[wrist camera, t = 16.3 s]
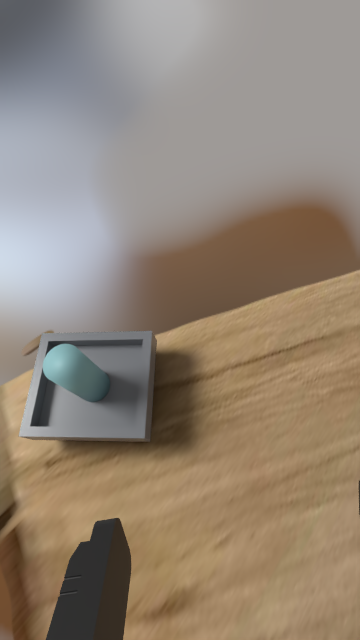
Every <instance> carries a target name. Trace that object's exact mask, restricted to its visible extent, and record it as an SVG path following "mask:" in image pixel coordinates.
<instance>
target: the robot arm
mask: <svg viewBox="0 0 360 640" xmlns="http://www.w3.org/2000/svg"><path fill="white" fill-rule="evenodd" d="M359 513H360V481H359ZM130 575H131V555H130V549H129V546H128V543H127V540H126V537H125V534H124V531H123V527H122V524H121V521H120V519H119V518H114V519H108V520H101V521H97V522H96V523H95V524H94V527H93V531H92V535H91V539H90V541H86V542H81V543H80V544H79V546H78V547H77V549H76V550H75V552H74V553H73V555H72V556H71V558H70V560H69V564H68V567H67V570H66V574H65V577H64V578H65V580H64V581H63V584H62V587H61V591H60V597H58V601H57V604H56V607H55V611H54V614H53V617H52V621H51V624H50V628H49V631H48V634H47V638H46V640H123V635H124V626H125V618H126V609H127V601H128V592H129V584H130Z"/></svg>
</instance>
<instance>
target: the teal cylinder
mask: <svg viewBox="0 0 360 640" xmlns="http://www.w3.org/2000/svg"><path fill="white" fill-rule="evenodd" d="M43 372H44V374H45V376H46V377H47V378H48V379H49V380H51V381H53V382H54V383H56V384H58V385H59V386H61V387H63V388H65V389H66V390H68V391H70V392H72V393H73V394H75V395H77V396H79V397H80V398H82V399H84V400H86V401H88V402H97V401H99V400H101V399H103V398H104V397H105V396H106V395H107V393H108V391H109V389H110V379H109V377H108V375H107V374H106V373H105V372H104V371H102V370H101V369H100V368H99V367H98V366H97V365H96V364H95V363H93V362H92V361H91V360H90V359H89V358H88V357H87V356H86V355H84V354H83V353H82V352H81V351H80V350H79V349H78V348H77V347H75V346H74V345H71V344H60V345H58V346H56V347H54V348H52V349H51V350H50V351H49V352H48V353H47V355H46V357H45V359H44V361H43Z"/></svg>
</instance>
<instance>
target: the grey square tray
mask: <svg viewBox="0 0 360 640" xmlns="http://www.w3.org/2000/svg"><path fill="white" fill-rule="evenodd" d="M60 344H71V345H74V346H75V347H77V348H78V349H79V350H80V351H81V352H82V353H83V354H84V355H86V356H87V357H88V358H89V359H90V360H91V361H92V362H93V363H95V364H96V365H97V366H98V367H99V368H100V369H101V370H102V371H104V372H105V373H106V374H107V375H108V377H109V379H110V389H109V391H108V393H107V395H106V396H105V397H104V398H103V399H101V400H99V401H97V402H88V401H86V400H84V399H82V398H80V397H79V396H77V395H75V394H73V393H72V392H70V391H68V390H66V389H65V388H63V387H61V386H59V385H58V384H56V383H54V382H53V381H51V380H49V379H48V378H47V377H46V376H45V374H44V372H43V361H44V359H45V357H46V355H47V353H48V352H49V351H50V350H51V349H52V348H54V347H56V346H58V345H60ZM156 344H157V340H156V338H155V336H154V334H153V332H152V331H128V332H89V333H88V332H86V333H42V336H41V341H40V345H39V349H38V354H37V358H36V363H35V367H34V371H33V376H32V380H31V384H30V389H29V393H28V398H27V402H26V406H25V411H24V415H23V419H22V424H21V428H20V433H19V437H24V438H28V439H32V440H78V441H136V442H150V438H151V423H152V407H153V391H154V376H155V360H156Z"/></svg>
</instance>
